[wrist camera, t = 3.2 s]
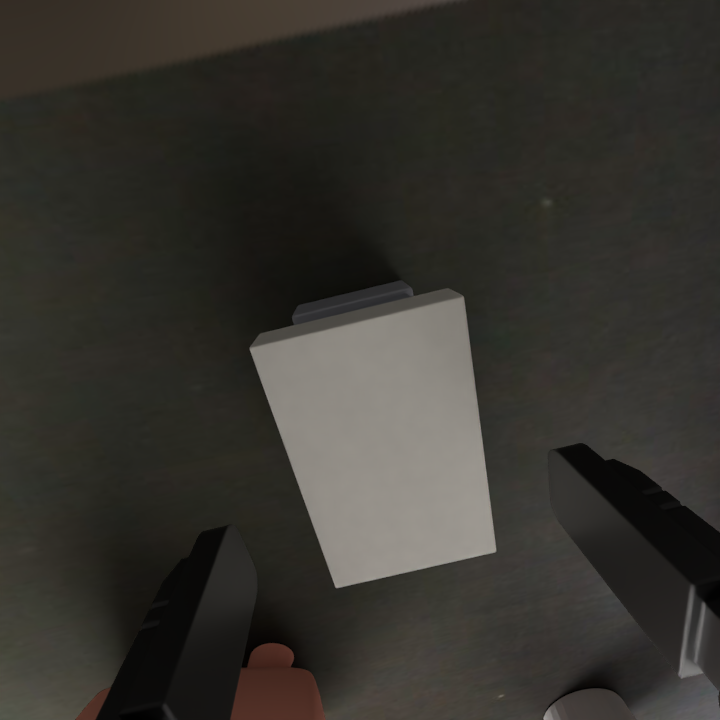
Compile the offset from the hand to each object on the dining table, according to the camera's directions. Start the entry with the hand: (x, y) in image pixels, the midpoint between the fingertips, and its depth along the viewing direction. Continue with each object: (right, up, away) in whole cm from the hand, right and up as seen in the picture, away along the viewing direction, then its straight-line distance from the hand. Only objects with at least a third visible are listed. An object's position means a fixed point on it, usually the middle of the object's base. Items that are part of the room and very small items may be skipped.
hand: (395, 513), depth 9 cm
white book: (0, +1, +3) cm, 3 cm away
